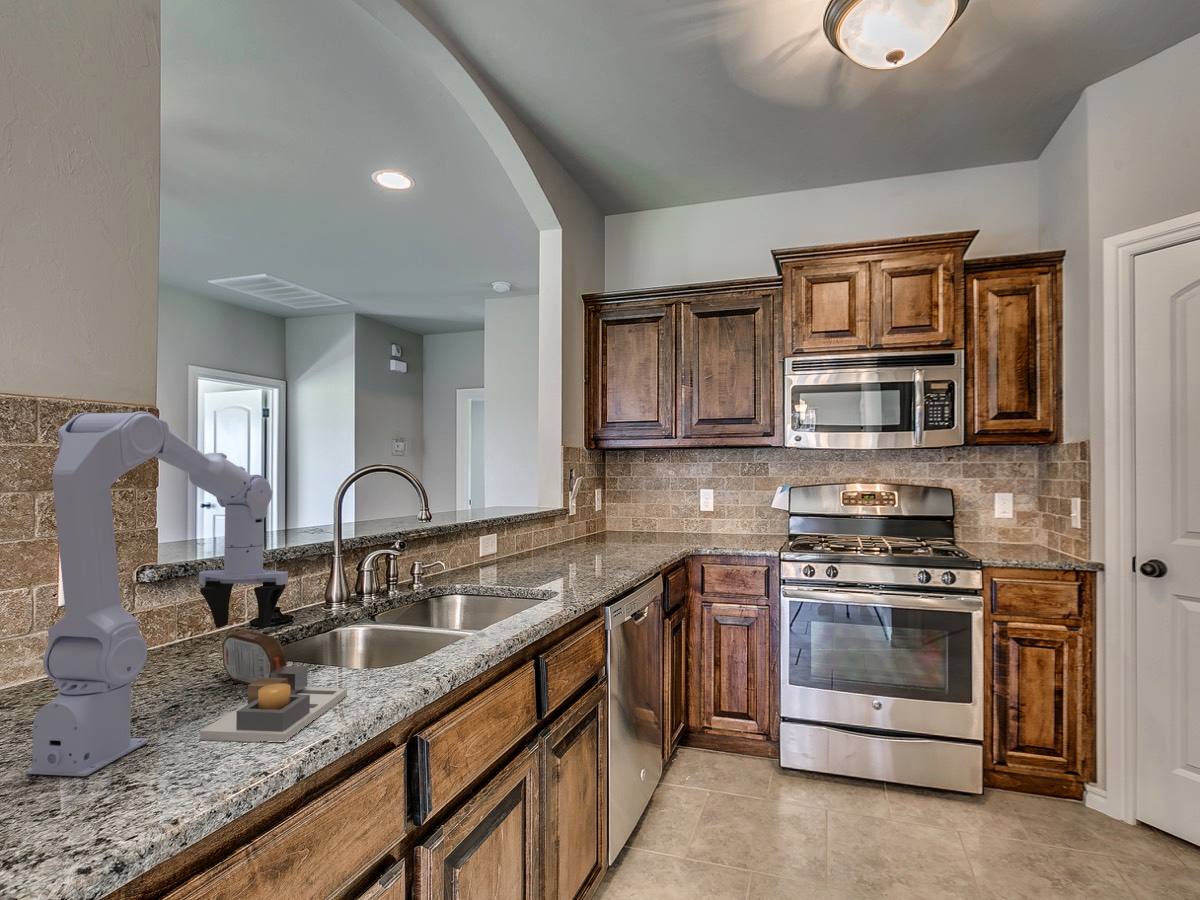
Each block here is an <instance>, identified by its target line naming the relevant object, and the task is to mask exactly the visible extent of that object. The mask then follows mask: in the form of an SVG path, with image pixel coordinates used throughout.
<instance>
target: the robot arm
mask: <svg viewBox="0 0 1200 900" xmlns="http://www.w3.org/2000/svg"><path fill="white" fill-rule="evenodd" d="M57 435H58V436H57V437H58V447H59V453H58V455H57V459H56V461H55V465H54V468H53V469H52V476H51V477H52V479H51V481H52V482H51V483H52V489H53V500H54V501H53V502H54V511H55V518H56V519H55V520H56V521H55V522H56V531H57V541H58V552H59V559H60V560H59V562H60V569H61V572H60V573H61V580H62V591H63V599H64V600H63V601H64V611H65V615H64V616H63V617H61V618H60V619H59V620H58V621H57V622H55V623H54V624H53V625H52V626H51V627H49V628H48V630H47V634H48V635H47V636H48V643H47V647H46V650H45V652H44V655H43V660H42V665H43V667H42V668H43V670H44V673H45V674H46V675H47V677H48V678H50V679H51V680H53V681H54V683H55V684H54V688H55V690H58V694H57V695H56V696H55V697H54V699H53V700H52V701H50V702H48V703H47V704H45V705H43V706H42V707H40V708H39V710H38V711H37V713H36V714H35V716H34V719H33V723H32V753H31V754H32V758H31V759H32V762H31V764H32V765H31V766H30V767H28V768H26V770H25V774H28V775H45V776H46V775H47V776H68V777H86V776H89V775H91V774H93V773H94V772H96V771H98V770H100V769H102V768H103V767H106V766H107V765H109V764H110V763H113V762H115V761H116V760H118V759H119V758H122V757H124V756H126V755H127V754H129V753H131V752H132V751H134V750H137V749H139V748H140V747H142V746H144V745H145V744H147V743H148V741H149V740H148V738H144V737H143V738H142V737H138V738H137V737H131V732H132V731H131V728H132V726H131V723H132V721H131V719H132V718H131V716H132V714H131V713H132V712H131V711H132V683H133V682H135V681H137V677H138V675H139V674H140V673H141V672H142V670H143V668H144V666H145V664H146V661H147V657H148V645H147V642H146V640H145V637H143V636H142V634H141V631H140V627H139V626H140V623H139V620H138V619H137V618H135V616H133V614H131V613H130V612H129V611H128V610H127V609H125V607H124V606H123V605H122V603H121V602H122V601H121V592H120V591H121V590H120V580H119V579H120V578H119V571H118V569H119V568H118V559H117V547H116V536H115V525H114V515H113V504H112V502H113V501H112V492H111V491H112V490H111V487H112V485H113V484H114V483H115V482H117V480H118V479H119V478H121V477H122V476H123V475H124V474H126V473H128V472H129V471H131V470H132V469H135V468H137V467H138V466H140V465H142V464H144V463H146V462H147V461H149V460H151V459H152V458H156V459H158V460H161V461H162V462H164V463H167V464H168V465H171V466H173V467H175V468H177V469H179V470H181V471H183V472H186V473H188V479H189V481H190V483H191V484H193V485H194V486H196V487H197V488H200V489H201V490H203V491H205V492H207V493H209V494H211V496H214V497H215V499H216V502H217V503H218V505H219V506H220V507H221V508H224V548H223V549H224V551H223V552H224V556H223V557H224V559H223V560H224V562H223V563H224V565H223V568H224V569H221V570H219V569H218V570H213V569H212V570H208V569H207V570H204V571H203V570H202V571H200V572H198V573H199V574H198V583H199V584H200V585H204V586H202V587H200V588H199V592H200V594H201V595H202V596H203V598H204V599H205V602H206V603H207V605H208V607H209V609H210V612H211V615H212V618H213V622H214V625H215V628H216V629H220V628H223V627H225V626H228V623H229V615H230V614H229V613H230V612H229V611H230V610H229V609H230V599H231V594H232V590H233V587H234V584H242V585H243V584H246V585H247V584H249V585H250V584H252V585H253V584H256V585H259V586H256V587H254V588H253V591H254V595H255V597H256V603H257V609H258V610H257V611H258V612H257V613H258V616H257V618H258V619H257V622H258V629H260V630H263V629H266V628H269V627H270V626H271V625H272V624H271V623H272V619H273V616H274V612H275V610H276V606H277V604H278V601H279V599H280V598H281V597H282V594H283V592H284V591H285V590H286V587H287V584H288V583H289V571H285V570H283V571H280V570H272V569H270V570H269V569H264V535H265V534H264V532H265V531H264V526H265V525H264V524H265V523H264V519H265V518H266V517H267V515H268V507H269V504H270V503H271V500H272V497H273V490H272V488H271V484H270V482H269V481H268V479H267V478H265V477H264V476H262V475H261V474H250V473H249V472H247V471H246V468H245V467H244V466H238V465H236V464H234V463H233V462H231V461H230V460H228V459H227V458H228V455H226V454H225V453H223V452H209V453H203V452H201V451H200V450H199V449H197V448H196V447H194V446H193V445H191V444H190V443H189V442H188V441H186V440H184V438H181V437H180V436H179V435H178V434H176V433H175V432H174V431H172V430H171V429H169V424H168V422H167V421H166V420H162V419H160V418H158V417H157V416H156V415H155V414H153V413H151V412H148V411H144V410H143V411H141V410H140V411H139V410H138V411H135V412H105V413H104V412H99V413H97V412H89V411H87V412H81V413H78V414H76V415H74V416H73V417H71V419H69V420H68V421H67V422H66V423H64V424H63V425H62V426H61V427H60V428H59V429H57Z"/></svg>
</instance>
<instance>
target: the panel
mask: <svg viewBox="0 0 1200 900" xmlns="http://www.w3.org/2000/svg"><path fill="white" fill-rule="evenodd" d="M346 696H348V688H338V687H337V688H336V687H335V688H334V687H333V688H332V687H311V686H310V687H308V686H306V687H304V688H303V689H301V690H299V691H298V692H296V693H290V704H288V705H287V706H285V707H284V708H282V709H281V710H274V709H258V699H256V700H255V701H253V702H251V703H250V704H248V702H246V703H245V704H243V705H241V706H240V707H238V708H237V709H235V710H233V711H231V712H229V713H228V714H226V715H225V716H222V717H221V718H220V719H218V720H216V721H214V722H213V723H210V724H209V725H207V726H206V727H204V728H202V729H201V730H199V741H217V742H218V741H221V742H222V741H223V742H224V741H225V742H247V743H264V742H263V741H277V742H278V741H283V742H284V741H286V740H287V739H289V738H290V737H292V736H293V735H294V734H296V733H297V732H299V731H300V730H301V729H302V728H304V727H305V726H307V725H308V724H309V723H311V722H312V721H313V720H315V719H316V718H317V719H319V718H320V717H321V716H323V715H324V714H325V713H326V711H327V712H328V711H329V710H331V709H332V708H333V707H335V706H336V705H337V704H339V703H340V702H342V699H343V698H344V697H345V698H347V697H346ZM345 698H344V699H345ZM344 699H343V700H344ZM339 701H340V702H339ZM338 702H339V703H338ZM334 705H335V706H334ZM330 708H331V709H330ZM323 713H324V714H323ZM322 714H323V715H322ZM320 715H321V716H320ZM319 716H320V717H319ZM318 717H319V718H318ZM317 719H316V720H317ZM316 720H315V721H316ZM313 722H314V721H313ZM313 722H312V723H313ZM312 723H311V724H312ZM309 725H310V724H309ZM309 725H308V726H309ZM308 726H307V727H308ZM305 728H306V727H305ZM305 728H304V729H305ZM301 731H302V730H301ZM301 731H300V732H301ZM300 732H299V733H300ZM297 734H298V733H297ZM297 734H296V735H297ZM293 737H294V736H293ZM293 737H292V738H293ZM289 740H290V739H289ZM260 741H261V742H260Z"/></svg>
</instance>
